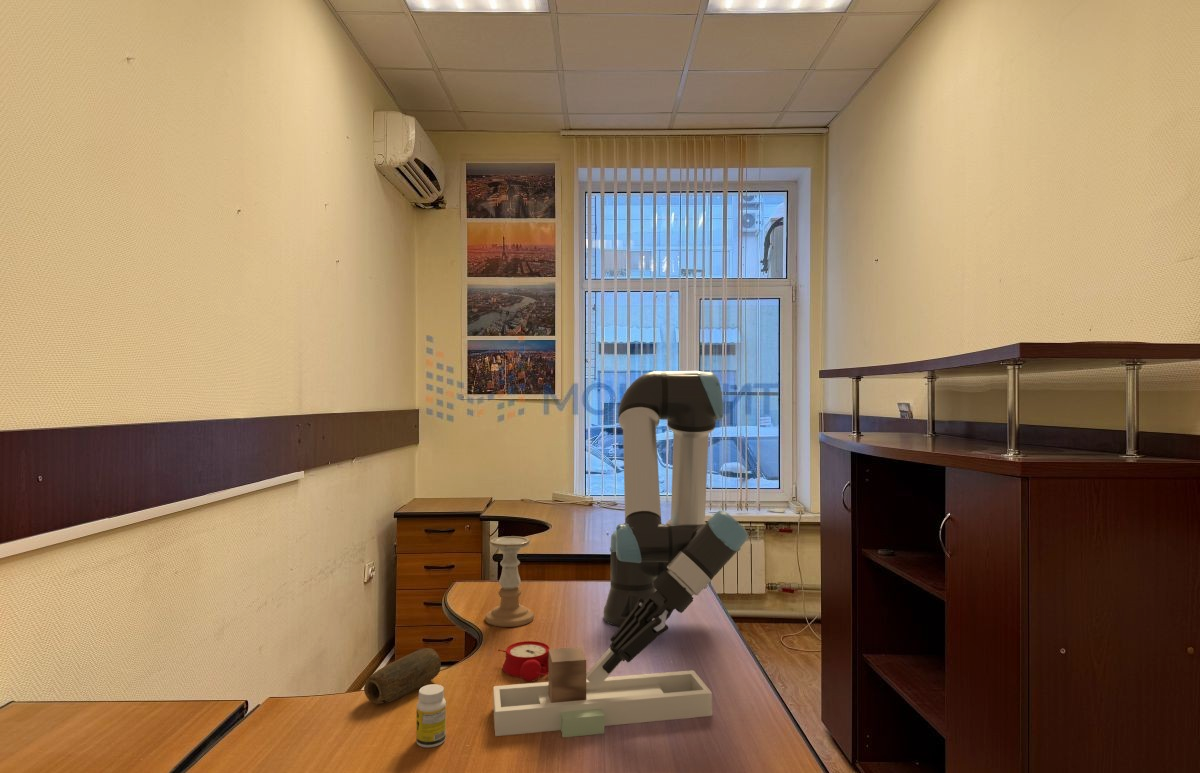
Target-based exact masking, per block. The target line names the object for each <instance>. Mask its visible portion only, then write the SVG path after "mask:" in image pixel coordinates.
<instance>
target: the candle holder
mask: <svg viewBox="0 0 1200 773" xmlns="http://www.w3.org/2000/svg"><path fill="white" fill-rule="evenodd" d="M530 544H531V539H530V538H528V537H524V536H517V535H516V536H515V535H511V536H509V535H508V536H500V537H498V536H497V537H494V538H492V539H490V540H489V546H490V547H493V548H494V549H495V548H497V549H499V550H500V552H501V553H502V555H503V556H502V557H503V558H502V560H501V561H500V563H499V565H500V566H501V568H502V569H501V575H500V578H499V580H498V584H499V586H500V587H501V588H500V589H499V590H498V592H497V593H498V596H499V597H500V598H501V599H500V605H497V606H495V607H493V608H492V609H491V610H489V611H488V612H486V614H485V616H484V617H485V619H484V620H485V622H486V623H487V624H489V625H492V626H494V627H499V628H508V627H509V628H511V627H512V628H513V627H521V626H525V625H526V624H530V623H531V622H532V621H533V620H534V617H535V615H534V612H533V610H531V609H530V608H528V607H527V606H525V605H522V604H520V600H519V597H520V596H521V594H522V590H521V589H520V588H519V587H520V585H521V577H520V574H519V568H518V566H519V565H520V564H521V561H520V560H519V559H518V558H517V556H518V553H519V552H520V551H521V549H522V548H525V547H527V546H530Z"/></svg>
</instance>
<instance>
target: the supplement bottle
mask: <svg viewBox="0 0 1200 773" xmlns="http://www.w3.org/2000/svg"><path fill="white" fill-rule="evenodd" d="M419 688H420V689H419V690H418V702H417V703H416V716H415V717H416V721H415V722H416V725H415V726H416V732H415V734H416V735H415V736H416V737H415V738H416V744H417V745H418V747H422V748H434V747H435V748H436V747H438V746H441V745H442V744H443V743H445V741H446V738H447V701H446V699H445V697H444V696H445V688H444V686H443V685H441V684H437V683H436V684H434V683H433V684H425V685H423V686H421V687H419Z"/></svg>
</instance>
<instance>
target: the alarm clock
mask: <svg viewBox="0 0 1200 773" xmlns="http://www.w3.org/2000/svg"><path fill="white" fill-rule="evenodd" d="M549 649H551V648H550V646H549V645H548V644H546V643H544V642H540V641H535V640H534V641H533V640H528V641H525V640H524V641H519V642H515V643H513V644H509V645H508V646H507V647H506V650H505V649H504V650H502V649H499V648H498V650H497V652H503V653H505V659H504V662H503V664H502V670H503V672H504V673H505V674H506V675H507V676H511V677H515V678H522V679H523V680H524V681H525V682H534V681H537V680H538V679H539V678H540V677H541V676H549Z"/></svg>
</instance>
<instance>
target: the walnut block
mask: <svg viewBox="0 0 1200 773" xmlns="http://www.w3.org/2000/svg"><path fill="white" fill-rule="evenodd" d="M586 673H587V658H586V656H585V654H584V651H583V649H582V647H580V646H579V647H578V646H577V647H566V648H550V649H549V675H548V682H549V685H548V694H549V698H550V702H551V703H556V702H568V701H579V700H586Z"/></svg>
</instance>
